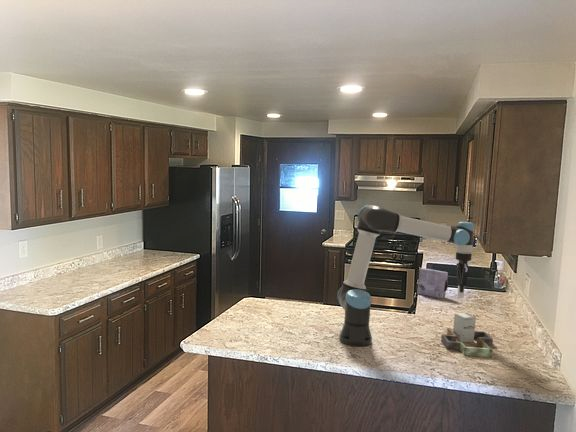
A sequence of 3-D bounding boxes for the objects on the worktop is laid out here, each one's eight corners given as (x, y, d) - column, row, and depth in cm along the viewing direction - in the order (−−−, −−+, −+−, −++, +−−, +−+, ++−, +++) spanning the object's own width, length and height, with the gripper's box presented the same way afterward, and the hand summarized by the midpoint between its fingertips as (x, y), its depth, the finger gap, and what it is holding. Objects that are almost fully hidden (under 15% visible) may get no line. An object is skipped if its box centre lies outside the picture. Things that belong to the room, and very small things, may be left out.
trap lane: (450, 354, 217) (451, 346, 216) (435, 334, 244) (435, 327, 243) (504, 357, 215) (505, 350, 215) (483, 337, 243) (484, 330, 242)
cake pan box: (447, 297, 320) (449, 271, 319) (445, 299, 316) (447, 272, 315) (418, 292, 331) (420, 267, 329) (416, 294, 326) (418, 268, 325)
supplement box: (461, 342, 233) (463, 317, 231) (452, 337, 240) (454, 312, 239) (474, 342, 235) (476, 316, 233) (464, 336, 242) (466, 312, 241)
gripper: (475, 254, 237) (471, 301, 239) (467, 250, 250) (463, 295, 252) (460, 254, 237) (456, 300, 239) (452, 249, 250) (449, 294, 252)
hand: (460, 297), depth 245 cm, fingers closed
